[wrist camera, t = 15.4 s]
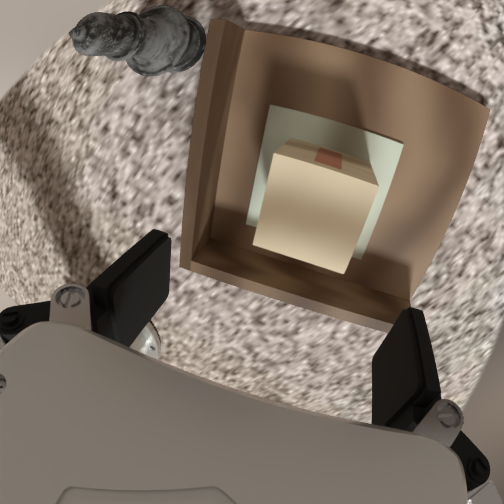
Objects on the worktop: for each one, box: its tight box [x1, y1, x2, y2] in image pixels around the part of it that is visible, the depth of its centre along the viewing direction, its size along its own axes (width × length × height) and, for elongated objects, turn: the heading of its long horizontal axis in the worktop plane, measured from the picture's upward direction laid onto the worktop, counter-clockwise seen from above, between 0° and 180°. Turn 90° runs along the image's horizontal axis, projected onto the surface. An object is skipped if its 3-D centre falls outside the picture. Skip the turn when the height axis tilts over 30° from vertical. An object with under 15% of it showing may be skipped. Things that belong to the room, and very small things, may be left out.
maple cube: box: [253, 138, 379, 274], centre depth 20 cm, size 6×6×6 cm
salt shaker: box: [69, 5, 206, 76], centre depth 16 cm, size 6×6×12 cm
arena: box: [179, 19, 490, 333], centre depth 21 cm, size 20×19×5 cm
